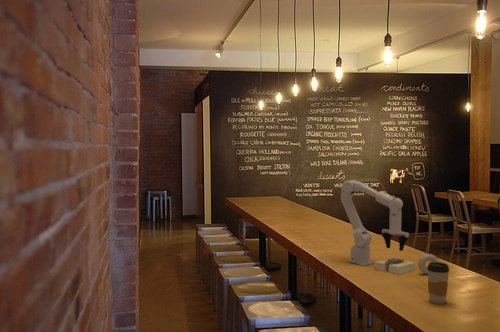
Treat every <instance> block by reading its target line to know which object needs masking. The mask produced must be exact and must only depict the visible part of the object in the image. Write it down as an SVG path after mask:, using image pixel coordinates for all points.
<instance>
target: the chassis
mask: <svg viewBox="0 0 500 332" xmlns="http://www.w3.org/2000/svg"><path fill="white" fill-rule="evenodd" d="M392 258H393V257H389V258H388V257H387V258H384V259H379V260H376V261H374V270H377V271H381V272H386V271H388V273H389V274H394V273H395V275H402V274H406V273H409V272H412V271H415V270H416V262H415V261H414V262H413V261H408V260H404V259H403V260H404V261H403V262H401V263H398V264H393V265H391V264H390V265H389V270H388V264H386V263H385V262H387V261H388V260H389V259H392ZM408 271H409V272H408ZM405 272H406V273H405Z"/></svg>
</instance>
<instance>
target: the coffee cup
mask: <svg viewBox="0 0 500 332" xmlns="http://www.w3.org/2000/svg"><path fill="white" fill-rule="evenodd" d="M427 267H428V268H427V270H428V274H427V287H428V288H427V289H428V290H427V291H428V300H429V302H431V303H433V304H437V305H438V304H439V305H443V304H445V303H446V302H447V293H448V286H449V285H448V284H449V275H450V274H449V273H450V267H449V264H447V263H443V262H431V261H430V262H429V263H428V264H427Z"/></svg>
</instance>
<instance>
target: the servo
mask: <svg viewBox="0 0 500 332" xmlns="http://www.w3.org/2000/svg"><path fill="white" fill-rule="evenodd" d="M391 258H392V259H389V260H388V261H387V262H385V263H386V264H388V270H387V271H389V265H390V264H391V265H393V264H398V263H401V262H403V261H404V259H401V258H398V257H391Z"/></svg>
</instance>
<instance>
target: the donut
mask: <svg viewBox="0 0 500 332" xmlns="http://www.w3.org/2000/svg"><path fill="white" fill-rule="evenodd" d="M417 262H418V263H417V267H418V269H419V271H420V272H421V273H423V274H425V275H428V270H427V268H428V266H426V263H427V262H430V263H431V262H439V259H438V258H437V256H436V255H434V254H432V253H425V254H423V255H422V256H421V257H419V259H418V261H417ZM439 263H440V262H439Z"/></svg>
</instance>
